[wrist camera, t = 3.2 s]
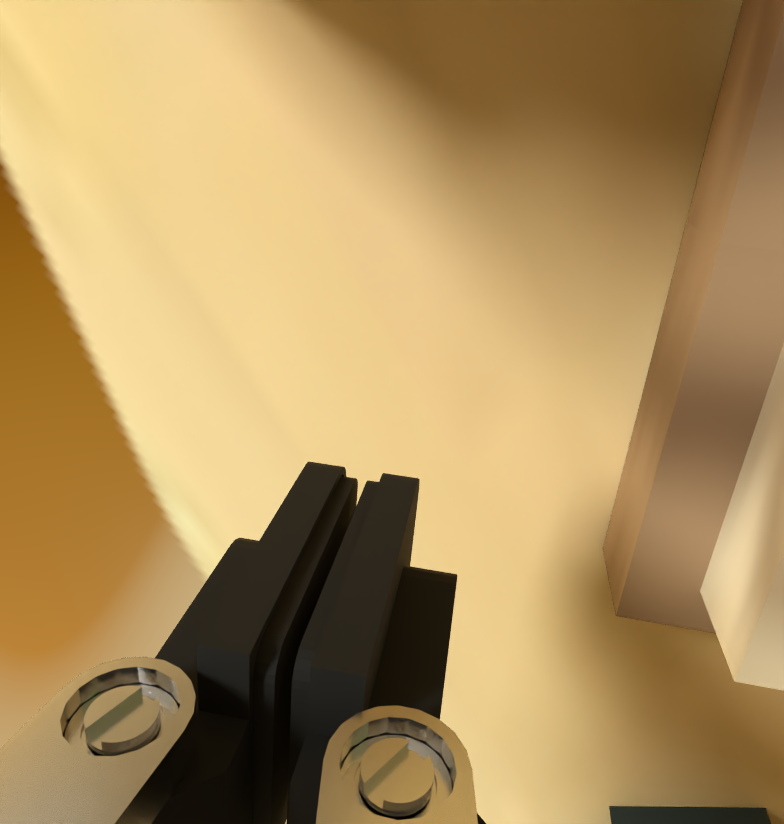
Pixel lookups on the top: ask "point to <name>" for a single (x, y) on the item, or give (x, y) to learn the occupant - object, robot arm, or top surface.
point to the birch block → (753, 555)
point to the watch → (688, 815)
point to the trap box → (709, 345)
